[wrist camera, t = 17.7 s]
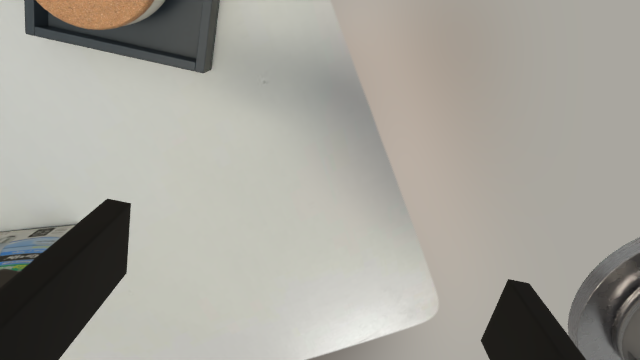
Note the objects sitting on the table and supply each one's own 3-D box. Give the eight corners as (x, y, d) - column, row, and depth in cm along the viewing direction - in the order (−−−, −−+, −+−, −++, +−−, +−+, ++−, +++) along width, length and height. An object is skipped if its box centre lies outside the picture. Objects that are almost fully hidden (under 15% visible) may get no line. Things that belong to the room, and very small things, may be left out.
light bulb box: (81, 222, 46) (13, 279, 36) (100, 274, 49) (41, 342, 39) (-12, 232, 47) (-104, 291, 37) (11, 283, 50) (-69, 352, 39)
